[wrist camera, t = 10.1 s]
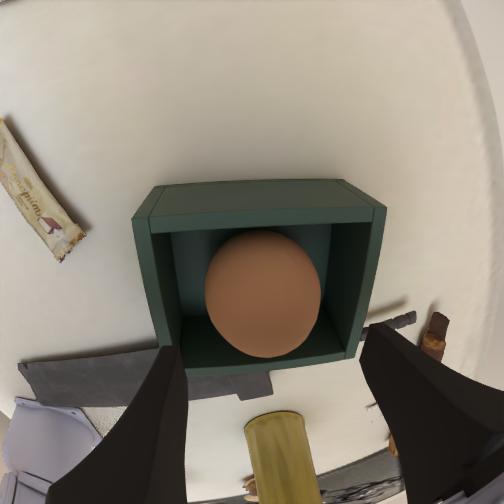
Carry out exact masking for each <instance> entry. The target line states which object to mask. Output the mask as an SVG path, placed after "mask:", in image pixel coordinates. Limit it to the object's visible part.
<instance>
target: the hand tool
mask: <svg viewBox="0 0 504 504" xmlns="http://www.w3.org/2000/svg"><path fill="white" fill-rule="evenodd" d="M449 321H450V320H449V319H448V318H447V317H446V316H444V315H443V314H441V313H439V312H434V313H433V315H432V319H431V322H430V326H429V330H428V331H427V333H425V334H424V336H423V339H422V343H421V346H420V349H421V350H423V351H424V352H425V353H427V354H428V355H430V356H431V357H433V358H434V359H436V360H437V361H439V362H441V360H442V357H443V354H444V349H445V346H446V342H445V336H446V331H447V328H448V325H449ZM388 450H389V452H390V453H393V454H394V455H395V456H398V453H397V450H396V446H395V443H394V440H393V437H392V434H391V436H390V440H389V447H388Z"/></svg>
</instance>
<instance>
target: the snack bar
mask: <svg viewBox="0 0 504 504" xmlns="http://www.w3.org/2000/svg"><path fill="white" fill-rule="evenodd" d="M0 182H1V183H2V185H3V186H4V188H5V189H6V191H7V192H8V194H9V195H10V197H11V198H12V200H13V201H14V203H15V205H16V206H17V208H18V209H19V211H20V212H21V213H22V215H23V216H24V218H25V219H26V221H27V222H28V223H29V224H30V225H31V226H32V227H33V229H34V230H35V231H36V232H37V233H38V235H39V236H40V237H41V239H42V240H43V241H44V242H45V243H46V245H47V246H48V248H49V249H50V250H51V252H52V253H53V254H54V256H55V258H56V260H60V261H59V263H61V262H62V261H63V260H64V257H65V253H66V252H67V253H70V251H69V249H70V250H71V251H72V250H73V249H71V248H72V246H74V245H75V244H77V243H78V242H79V240H82V239H83V238H84V237H86V233H84V231H83V230H82V229H81V227H80V226H79V225H78V223H77V224H74V223H73V221H72V220H71V219H70V218H69V216H68V215H67V213H66V212H65V211H64V209H63V208H62V207H61V205H60V204H59V203H58V202H57V201H56V199H55V198H54V197H53V195H52V194H51V193H50V191H49V190H48V189H47V188H46V186H45V185H44V184H43V182H42V181H41V179H40V178H39V176H38V175H37V173H36V172H35V170H34V168H33V166H32V165H31V163H30V162H29V160H28V159H27V157H26V156H25V154H24V153H23V151H22V149H21V148H20V147H19V145H18V144H17V142H16V141H15V139H14V137H13V136H12V134H11V133H10V131H9V130H8V128H7V126H6V125H5V123H4V122H3V120H2V119H1V118H0ZM61 256H62V257H63V258H61Z"/></svg>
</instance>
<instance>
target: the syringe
mask: <svg viewBox="0 0 504 504" xmlns="http://www.w3.org/2000/svg"><path fill="white" fill-rule="evenodd" d="M376 407H378V404H376V405H375V406H372V407H370V408H368V409H367V411H370V410H372V409H375V408H376ZM380 416H381V415H380ZM380 416H379V417H380ZM376 419H377V418H376ZM373 421H374V420H373ZM373 421H372V422H373Z"/></svg>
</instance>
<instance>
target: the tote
mask: <svg viewBox="0 0 504 504" xmlns="http://www.w3.org/2000/svg"><path fill="white" fill-rule="evenodd" d="M386 213H387V207H386V206H385V205H383V204H382V203H380V202H379V201H377V200H375V199H374V198H372V197H371V196H369V195H368V194H366V193H364V192H363V191H361V190H360V189H358V188H356V187H355V186H353V185H351V184H350V183H348V182H346V181H345V180H343V179H275V180H244V181H223V182H206V183H191V184H178V185H166V186H155V187H154V188H153V189H152V191H151V192H150V193H149V195H148V196H147V198H146V199H145V200H144V202H143V203H142V205H141V206H140V207H139V209H138V210H137V212H136V213H135V214H134V216H133V217H132V219H131V220H132V226H133V232H134V238H135V243H136V249H137V254H138V259H139V264H140V269H141V274H142V279H143V284H144V288H145V292H146V297H147V301H148V305H149V309H150V314H151V318H152V321H153V325H154V329H155V333H156V337H157V340H158V344H159V348H161V347H162V346H163V345H179V347H180V351H181V355H182V360H183V364H184V368H185V372H186V376H187V377H191V376H213V375H228V374H241V373H252V372H262V371H272V370H280V369H288V368H296V367H303V366H310V365H316V364H322V363H328V362H334V361H340V360H343V359H344V360H345V359H351V358H354V357H355V354H356V351H357V347H358V344H359V340H360V337H361V333H362V329H363V325H364V322H365V318H366V314H367V310H368V306H369V302H370V297H371V293H372V289H373V284H374V280H375V275H376V270H377V265H378V260H379V255H380V250H381V244H382V238H383V233H384V226H385V220H386ZM253 230H268V231H273V232H276V233H280V234H283V235H285V236H287V237H288V238H290V239H292V240H293V241H295V242H296V243H297V244H298V245H300V246H301V247H302V248H303V249H304V251H305V252H306V253H307V255H308V256H309V258H310V259H311V261H312V263H313V265H314V267H315V270H316V272H317V274H318V277H319V282H320V289H321V299H320V307H319V312H318V316H317V320H316V322H315V324H314V326H313V328H312V330H311V332H310V333H309V335H308V337H307V338H306V340H305V341H304V342H302V343H301V344H300V345H299V346H298V347H297V348H295V349H293V350H292V351H290V352H288V353H286V354H284V355H280V356H276V357H271V358H265V357H256V356H251V355H249V354H246V353H244V352H242V351H240V350H238V349H237V348H235V347H234V346H232V345H231V344H230V343H229V342H228V341H227V340H226V339H225V338H224V337H223V336H222V335H221V334H220V333H219V332H218V330H217V329H216V327H215V326H214V324H213V323H212V321H211V318H210V316H209V313H208V311H207V308H206V302H205V296H204V280H205V276H206V272H207V269H208V266H209V263H210V260H211V259H212V258H213V256H214V255H215V253H216V252H217V250H218V249H219V248H220V247H221V246H222V245H223V244H224V243H225V242H227V241H228V240H229V239H231V238H232V237H234V236H236V235H238V234H241V233H244V232H247V231H253Z"/></svg>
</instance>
